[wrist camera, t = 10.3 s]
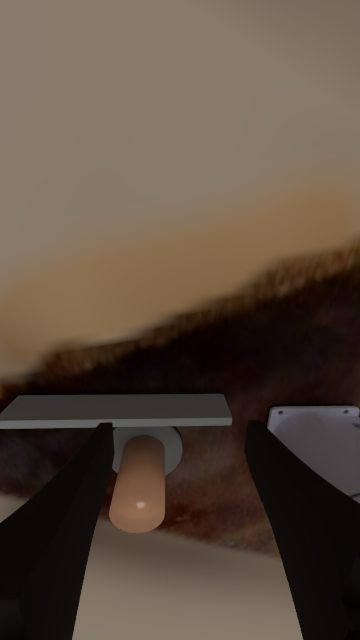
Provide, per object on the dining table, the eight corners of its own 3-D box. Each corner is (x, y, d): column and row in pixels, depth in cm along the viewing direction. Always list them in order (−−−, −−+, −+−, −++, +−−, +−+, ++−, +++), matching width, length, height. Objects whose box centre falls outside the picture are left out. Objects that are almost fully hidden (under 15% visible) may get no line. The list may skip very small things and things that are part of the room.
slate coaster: (183, 414, 25) (183, 419, 24) (181, 473, 27) (181, 479, 26) (104, 415, 24) (102, 420, 23) (109, 475, 26) (107, 481, 26)
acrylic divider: (223, 393, 24) (232, 417, 21) (222, 400, 24) (231, 425, 21) (18, 395, 23) (-7, 420, 20) (20, 402, 23) (-5, 428, 20)
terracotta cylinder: (165, 434, 24) (164, 493, 18) (165, 467, 26) (164, 532, 20) (121, 435, 24) (107, 494, 18) (123, 468, 25) (111, 534, 20)
